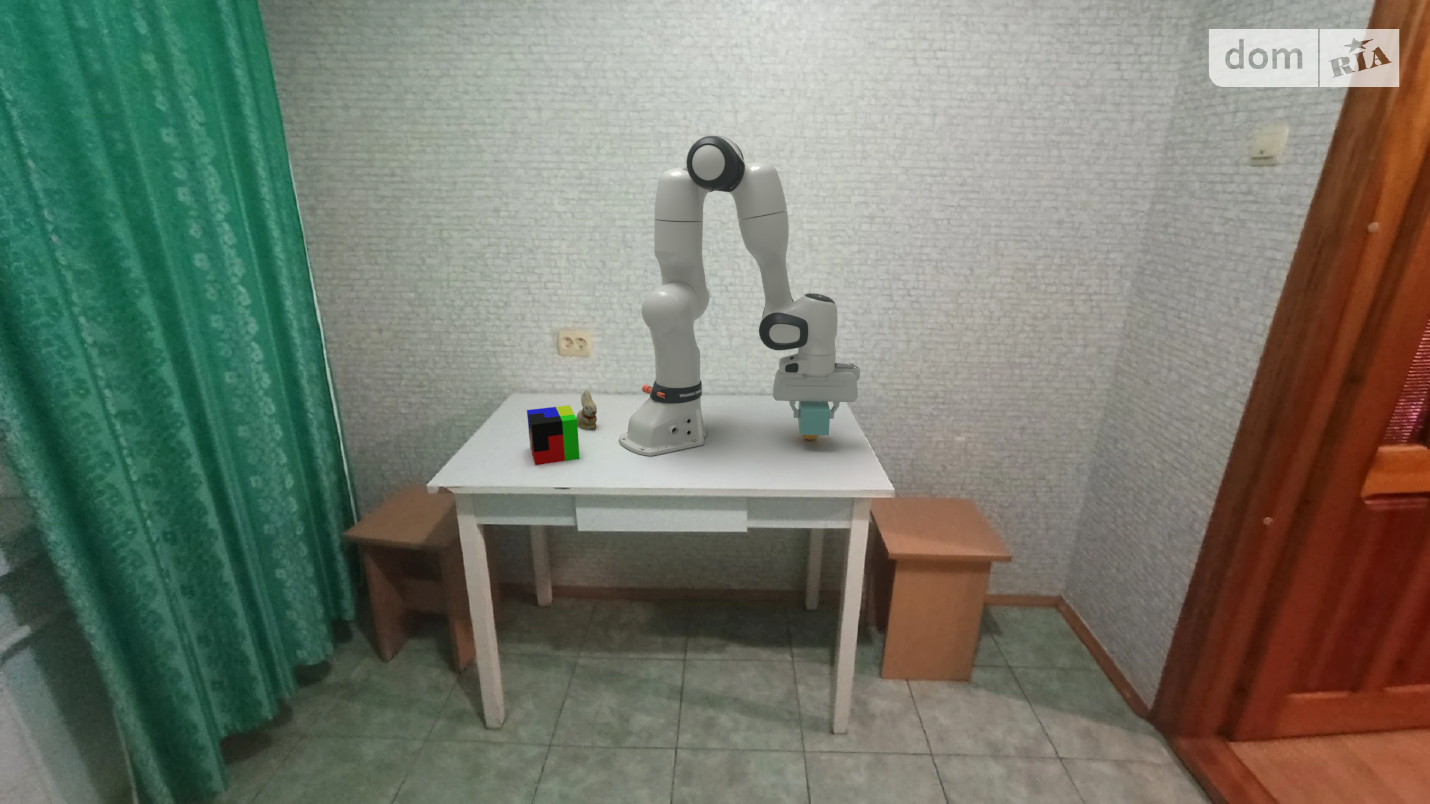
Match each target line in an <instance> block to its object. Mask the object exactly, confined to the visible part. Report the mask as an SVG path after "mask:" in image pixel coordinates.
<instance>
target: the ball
mask: <svg viewBox="0 0 1430 804" xmlns="http://www.w3.org/2000/svg"><path fill="white" fill-rule="evenodd" d="M801 436H802V437H803V438H804V439H806V440H809V441H810V440H811V441H812V440H815V439H817V438H818V437H819V435H801Z"/></svg>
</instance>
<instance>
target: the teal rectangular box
mask: <svg viewBox="0 0 1430 804" xmlns="http://www.w3.org/2000/svg"><path fill="white" fill-rule="evenodd" d="M797 409H800V418H797V422H798V428H799V429H798V430H799V435H801V436H802V435H818V436H829V435H830V422H831V421H830V420H831V419H830V410H831V408H830V405H829V402H818V401H798V407H797Z"/></svg>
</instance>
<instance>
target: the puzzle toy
mask: <svg viewBox="0 0 1430 804" xmlns="http://www.w3.org/2000/svg"><path fill="white" fill-rule="evenodd" d="M526 414H527V426H528V427H527V428H528V437H529V449H530V452H531V455H532V459H533V461H534V465H535V466H539V465H540V466H541V465H547V464H554V463H560V462H568V461H575V460H580V458H581V457H580V443H579V427H578V425H577V418H576V417H577V415H575V413H574V411H573V408H572V407H571V405H570V404H569V405H559V406H558V405H557V406H550V407H542V408H533V409H526Z"/></svg>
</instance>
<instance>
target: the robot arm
mask: <svg viewBox="0 0 1430 804" xmlns="http://www.w3.org/2000/svg"><path fill="white" fill-rule="evenodd" d="M657 183H658V184H657V186H656V187H657V189H656V194H655V201H654V202H655V204H654V241H653V242H654V245H653V246H654V256H655V258H656V259H657V261H658V265H659V269H660V273H661V281H662V282H661V285H659V286H656V287H655V288H653V289H652V290H651V291H650V292H649V294H648V295H647V296H646V297H645V299H644V300H643V302H642V305H641V316H642V319H643V321H644V323H645V325H646V326H647V327H648V328H649V331H650V332H649V333H650V336H651V340H652V344H653V349H654V362H655V365H654V367H655V370H654V371H655V381H654V382H653V385H652V386H650V385H648V384H647V383H646V384H643V385H642V386H641V391H642V393H645V394H647V395H649V398H648V399H647V400H646V401H644V403H643V404H642V405H641V406H640V407H639V408H637V410H636V411H635V412H634V413H632V415H630V418H629V420H628V425H627V432H625V433H622V434H620V435H619V436H618V442H619V444H620V445H621V446H623V448H625V449H627V450H629V451H630V452H633V453H636V454H638V455H642V456H647V457H648V456H649V457H652V456H656V455H657V456H658V455H662V454H665V453H666V454H667V453H671V452H675V451H676V452H677V451H681V450H686V449H689V448H696V447H700V446H703V445H704V444H705V438H706V436H707V430H706V427H705V424H704V418H703V413H702V412H703V411H702V403H701V401H702V400H701V397H702V396H703V382H702V379H701V350H700V348H699V347H698V344H697V340H696V335H695V331H694V330H695V329H694V327H695V326H694V324H695V321H696V320H698V319H699V318H701V317H702V316H703V314H704V313H705V312H706V310H707V308H708V306H709V304H710V303H709V302H710V292H709V288H708V287H707V283H706V275H705V270H704V269H705V267H704V259H703V236H704V235H703V232H704V231H703V227H704V226H703V225H704V221H703V220H704V203H705V199H706V196H707V195H708V194H709V193H711V192H723V193H729V194H730V195H731V196H732V198H733V201H734V204H735V209H736V214H737V221H738V226H739V231H740V235H741V238H742V241H743V243H744V247H745V248H746V251H747V252H748V253H749V254H750V255H751V256H752V257H753V258H754V260H755V262H756V263H757V266H758V268H759V271H760V277H761V282H762V287H763V292H764V298H765V299H764V301H765V303H764V308H763V312H762V316H761V320H760V323H759V326H758V334H759V339H760V340H761V342H762V343H763V345H765V347H767V348H768V349H771V350H772V351H786V350H787V351H789V350H793V349H794V350H795V349H797V353H794V354H789V355H787V356H784V357H783V356H782V357H781V358H779V361H778V369H777V370H776V372H775V375H774V380H773V386H772V397H773V399H774V400H775V401H777V402H779V401H781V402H782V401H783V402H789V406H790V408H791V410H792V411H793V418H794V419H798V418H800V409H798V408H796V406H795V405H796V402H799V401H818V402H828V403H829V402H830V403H832V405H833V406H832V407H831V408H830V420H832V419H833V420H834V418H835V413H836V412H837V410H838V409H839V407H840V403H855V402H856V401H857V400H858V397H859V395H858V393H859V392H858V390H859V389H858V381H859V380H860V377H861V376H860V375H861V369H860V368H859V366H857V365H855V364H854V363H843V362H842V363H841V362H840V363H839V362H838V363H837V362H836V355H837V354H836V353H837V348H836V343H835V342H836V337H837V335H838V308H837V305H836V302H835V301H834V300H833V299H832V298H831V297H829V296H826V295H823V294H819V293H814V292H813V293H811V292H810V293H805V294H803V296H801V297H800V298H798V299H795V301H794V299H793V297H792V294H791V288H790V282H789V277H788V269H787V251H788V245H789V236H790V235H789V231H790V230H789V229H790V227H789V226H790V225H789V215H788V210H787V209H788V208H787V203H786V202H787V201H786V197H785V193H784V190H783V185H782V183H781V180H780V175H779V173H778V171H777V169H776V167H775V166H774V165H772V164H771V163H768V162H764V161H755V162H754V161H753V162H747V161H745V158H744V155H743V152H742V149H741V148H740V147H739V146H738V145H737V144H736V143H735V142H734V141H732V140H731V139H730V138H728V137H725V136H723V135H707V136H704V137H701V138H698V140H696V141H695V142H694V143H693V144H692V145H691V147H690V148H689V149H688V152H687V156H686V165H685V166H683V167H673V168H669V169H668V170H665V171H663V172H662V174H661V175H660V176H659V178H658V182H657Z"/></svg>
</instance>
